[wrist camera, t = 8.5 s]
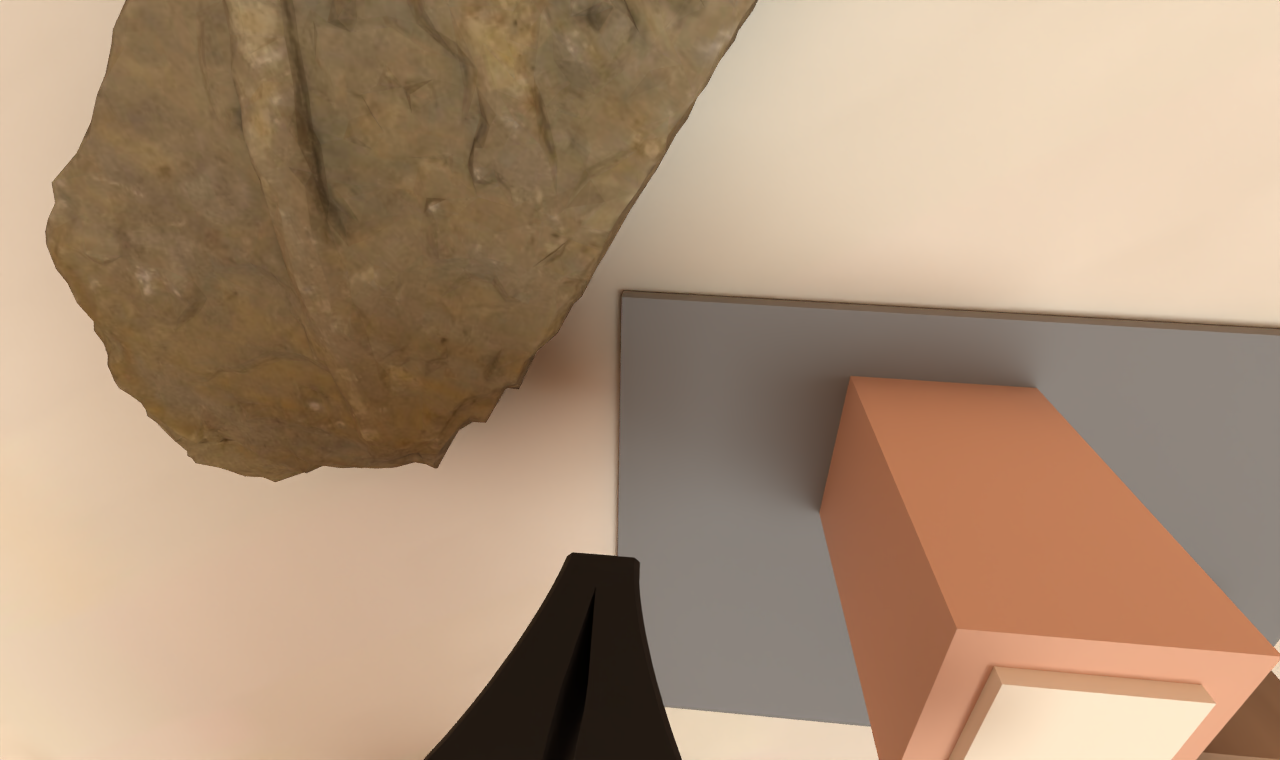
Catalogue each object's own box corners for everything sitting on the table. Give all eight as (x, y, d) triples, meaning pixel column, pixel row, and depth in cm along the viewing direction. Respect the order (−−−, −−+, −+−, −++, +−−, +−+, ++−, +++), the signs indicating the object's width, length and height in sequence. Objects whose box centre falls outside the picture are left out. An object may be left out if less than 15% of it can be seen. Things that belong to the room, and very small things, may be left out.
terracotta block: (981, 525, 18) (1155, 838, 11) (819, 513, 18) (891, 812, 11) (1036, 387, 15) (1300, 675, 9) (850, 375, 16) (964, 646, 9)
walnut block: (918, 681, 21) (1160, 703, 21) (967, 830, 17) (1266, 861, 17) (955, 587, 19) (1228, 610, 18) (1022, 735, 15) (1368, 767, 15)
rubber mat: (1176, 745, 22) (1183, 756, 22) (616, 692, 23) (615, 702, 23) (1496, 341, 14) (1516, 349, 14) (623, 290, 15) (621, 296, 15)
